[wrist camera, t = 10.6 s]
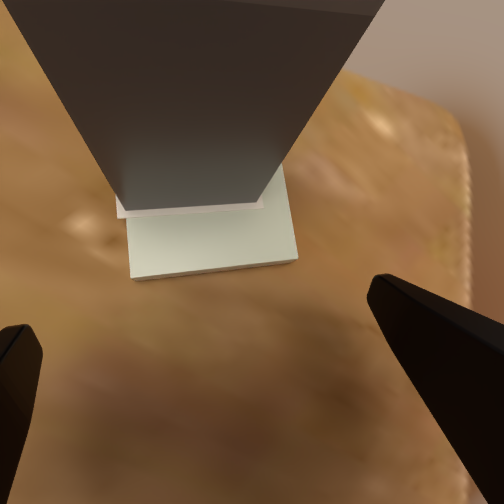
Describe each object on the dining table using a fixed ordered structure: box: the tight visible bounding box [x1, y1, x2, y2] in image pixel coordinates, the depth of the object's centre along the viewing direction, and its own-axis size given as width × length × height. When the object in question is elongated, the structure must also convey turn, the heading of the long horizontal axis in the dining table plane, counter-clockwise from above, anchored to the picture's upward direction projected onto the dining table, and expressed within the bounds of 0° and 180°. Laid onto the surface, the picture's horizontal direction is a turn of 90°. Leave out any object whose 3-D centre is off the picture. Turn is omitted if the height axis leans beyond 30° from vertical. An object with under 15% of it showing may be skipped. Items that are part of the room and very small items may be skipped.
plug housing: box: [2, 0, 385, 211], centre depth 11 cm, size 4×7×12 cm, turn 99°
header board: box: [116, 163, 299, 281], centre depth 16 cm, size 11×9×4 cm
